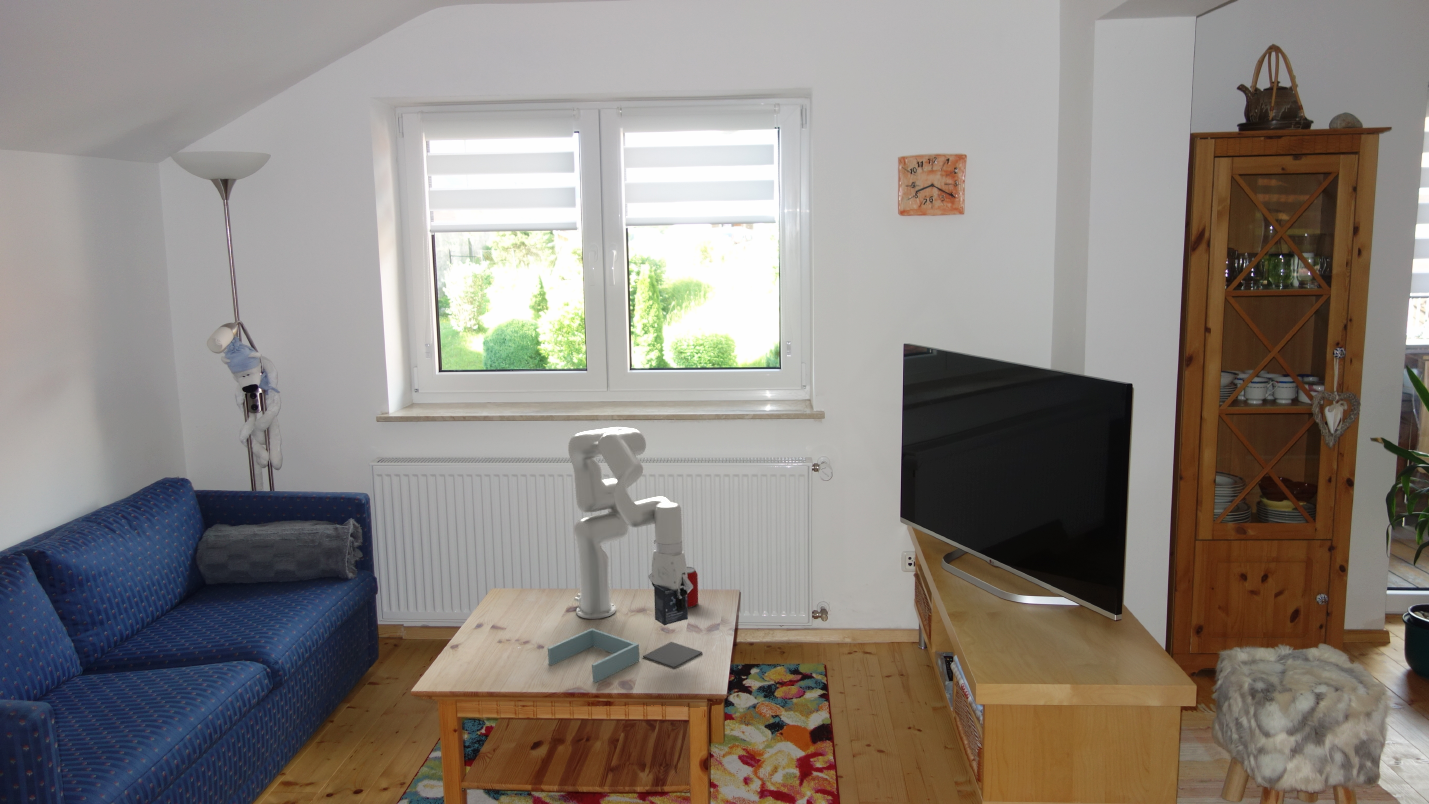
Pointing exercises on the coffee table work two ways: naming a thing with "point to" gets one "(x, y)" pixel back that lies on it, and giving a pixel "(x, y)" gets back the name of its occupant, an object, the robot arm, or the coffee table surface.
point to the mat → (672, 655)
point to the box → (668, 606)
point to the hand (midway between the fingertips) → (671, 606)
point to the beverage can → (693, 594)
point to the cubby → (621, 648)
